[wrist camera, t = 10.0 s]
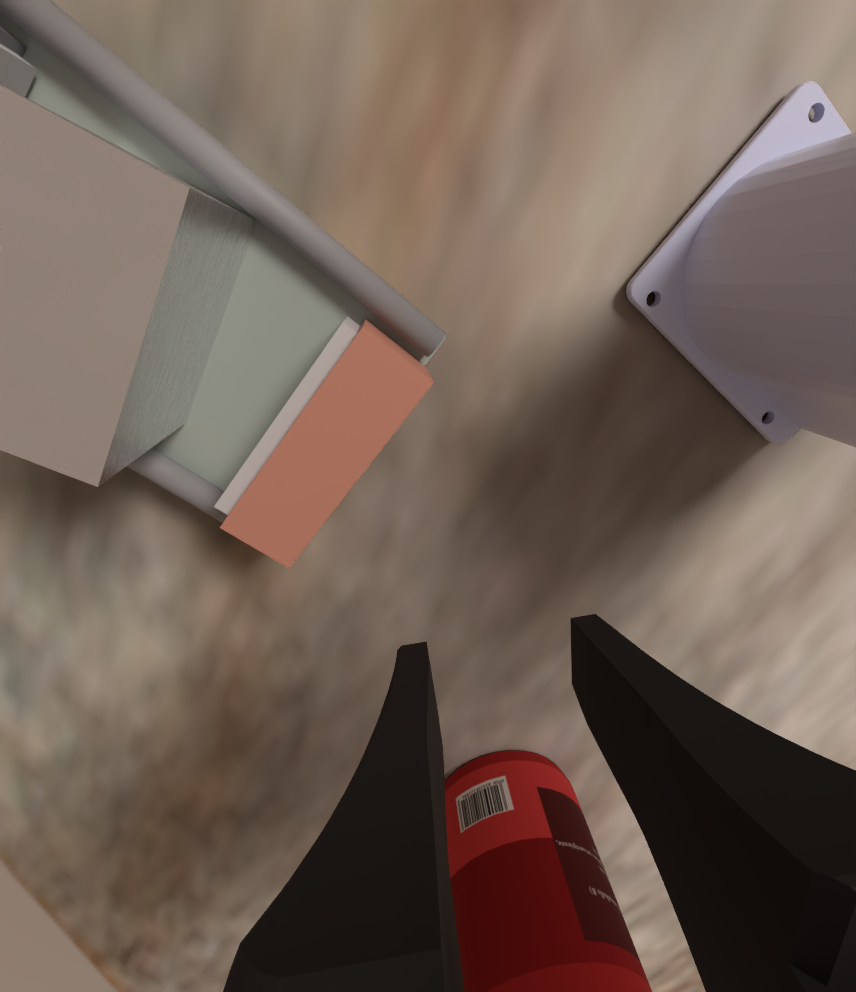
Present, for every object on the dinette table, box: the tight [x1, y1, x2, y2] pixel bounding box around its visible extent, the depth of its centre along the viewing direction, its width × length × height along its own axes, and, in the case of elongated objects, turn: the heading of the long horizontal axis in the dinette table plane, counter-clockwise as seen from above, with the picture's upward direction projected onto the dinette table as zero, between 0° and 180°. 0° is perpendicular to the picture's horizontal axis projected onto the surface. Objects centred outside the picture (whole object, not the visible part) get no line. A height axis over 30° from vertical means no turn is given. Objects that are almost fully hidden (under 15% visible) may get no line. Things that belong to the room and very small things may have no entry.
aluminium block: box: [0, 84, 257, 487], centre depth 13 cm, size 4×7×6 cm, turn 153°
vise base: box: [0, 0, 447, 523], centre depth 14 cm, size 22×10×4 cm, turn 51°
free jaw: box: [214, 317, 434, 568], centre depth 17 cm, size 3×8×3 cm, turn 141°
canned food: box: [445, 751, 652, 992], centre depth 23 cm, size 8×8×11 cm
